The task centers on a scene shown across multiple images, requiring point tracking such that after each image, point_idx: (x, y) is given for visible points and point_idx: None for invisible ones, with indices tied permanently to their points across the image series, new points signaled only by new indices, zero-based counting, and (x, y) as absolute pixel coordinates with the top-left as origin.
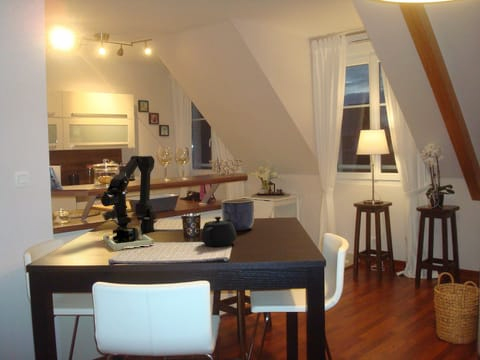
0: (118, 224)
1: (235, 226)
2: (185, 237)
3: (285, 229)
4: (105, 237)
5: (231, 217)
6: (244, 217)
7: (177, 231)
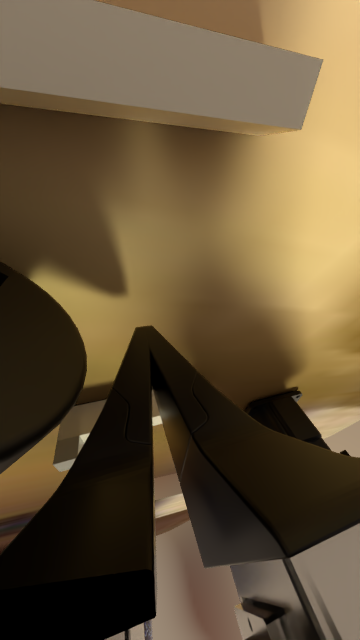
0: (38, 548)
1: None
2: (19, 516)
3: None
4: (38, 2)
5: None
6: None
7: None
